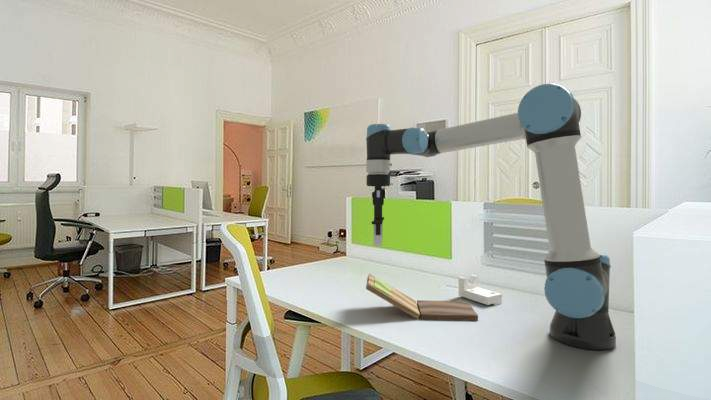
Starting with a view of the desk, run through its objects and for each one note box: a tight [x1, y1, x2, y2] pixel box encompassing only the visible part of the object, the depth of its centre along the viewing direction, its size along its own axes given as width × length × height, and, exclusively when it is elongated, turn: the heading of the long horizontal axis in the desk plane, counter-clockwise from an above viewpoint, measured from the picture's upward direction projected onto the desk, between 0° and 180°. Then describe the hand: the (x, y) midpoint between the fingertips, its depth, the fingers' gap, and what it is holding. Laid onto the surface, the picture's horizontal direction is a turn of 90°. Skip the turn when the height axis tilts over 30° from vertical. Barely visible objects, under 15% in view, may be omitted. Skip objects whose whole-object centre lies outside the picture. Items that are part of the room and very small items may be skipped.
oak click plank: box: [365, 273, 421, 320], centre depth 125 cm, size 14×18×2 cm
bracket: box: [458, 274, 503, 306], centre depth 136 cm, size 13×7×8 cm, turn 31°
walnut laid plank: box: [416, 299, 479, 321], centre depth 124 cm, size 14×17×2 cm
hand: (378, 242), depth 124 cm, fingers open, 11 cm apart
